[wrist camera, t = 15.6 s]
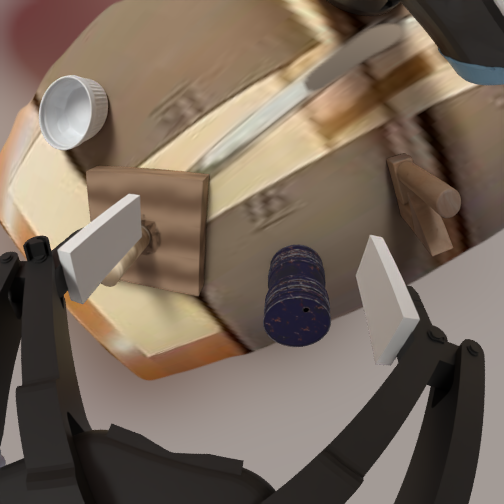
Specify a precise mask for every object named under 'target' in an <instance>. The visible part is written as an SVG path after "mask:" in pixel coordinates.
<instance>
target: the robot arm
mask: <svg viewBox="0 0 504 504" xmlns="http://www.w3.org/2000/svg"><path fill="white" fill-rule="evenodd" d="M327 1H328V2H329V3H331V4H332V5H334V6H336V7H338V8H340V9H342V10H344V11H347V12H350V13H353V14H357V15H364V16H375V15H381V14H384V13H387V12H389V11H391V10H392V9H393V8H395V7H396V6H397V5H398V4H399V3H400V2H401V3H402V4H403V5H404V6H405V8H406V9H407V10H408V11H409V12H410V13H411V14H412V15H413V16H414V18H415V19H416V20H417V21H418V22H419V24H420V25H421V26H422V27H423V28H424V30H425V31H426V32H427V33H428V35H429V36H430V37H431V38H432V40H433V41H434V42H435V44H436V45H437V46H438V50H439V52H440V53H441V55H442V56H444V58H446V59H447V60H448V62H449V63H450V64H451V66H452V67H453V69H454V70H455V71H456V73H457V74H458V75H459V76H461V77H462V78H463V79H465V80H466V81H468V82H471V83H474V84H479V85H501V84H504V0H327ZM141 237H142V230H141V210H140V195H135V194H128V195H126V196H125V197H124V198H122V199H121V200H120V201H118V202H117V203H115V204H114V205H113V206H111V207H110V208H109V209H107V210H106V211H105V212H103V213H102V214H101V215H100V216H98V217H97V218H96V219H94V220H93V221H92V222H91V223H89V224H88V225H87V226H85V227H83V228H81V229H79V230H77V231H75V232H74V233H73V234H71V235H70V236H69V237H68V238H66V239H65V240H64V241H63V242H62V243H60V244H59V245H58V246H57V247H56V248H55V249H53V250H52V251H51V248H50V244H49V239H48V237H46V236H36V237H33V238H31V239H29V240H27V241H26V242H25V244H24V245H23V247H24V251H25V254H26V258H27V261H20V260H19V257H18V254H17V253H16V252H6V253H4V254H2V256H0V445H1V441H2V436H3V431H4V425H5V417H6V409H7V402H8V395H9V390H10V384H11V379H12V374H13V369H14V364H15V360H16V356H17V352H18V348H19V344H20V340H21V363H22V386H18V387H17V388H16V404H17V415H18V423H19V430H20V437H21V442H22V449H23V454H24V458H23V459H21V460H18V461H16V462H13V463H11V464H8V465H6V466H5V459H4V457H3V456H2V455H1V450H0V504H345V502H346V501H347V500H348V499H349V498H350V497H351V496H352V495H353V494H354V493H355V492H356V490H357V489H358V488H359V487H360V485H361V484H362V482H363V481H364V480H363V477H364V476H365V474H366V473H367V472H368V471H369V469H370V468H371V467H372V466H373V464H374V463H375V462H376V460H377V459H378V458H379V457H380V455H381V454H382V453H383V451H384V450H385V449H386V447H387V446H388V445H389V443H390V442H391V440H392V439H393V438H394V436H395V435H396V433H397V432H398V430H399V429H400V427H401V426H402V424H403V423H404V421H405V420H406V418H407V417H408V415H409V413H410V412H411V410H412V408H413V407H414V405H415V404H416V402H417V400H418V399H419V397H420V395H421V394H422V392H423V390H424V388H425V387H426V385H429V386H431V388H430V393H429V397H428V402H427V406H426V410H425V415H424V419H423V422H422V426H421V430H420V433H419V437H418V440H417V443H416V446H415V450H414V453H413V456H412V459H411V462H410V465H409V467H408V470H407V473H406V476H405V478H404V481H403V483H402V486H401V488H400V491H399V493H398V495H397V498H396V500H395V503H394V504H468V503H469V500H470V496H471V492H472V487H473V483H474V478H475V474H476V468H477V463H478V457H479V450H480V443H481V435H482V426H483V413H484V395H485V360H484V352H483V349H482V348H481V346H480V345H479V344H478V343H477V342H475V341H473V340H470V339H465V340H464V341H463V342H462V343H461V345H460V346H457V345H455V344H452V343H449V342H447V341H448V340H447V337H446V335H445V334H444V332H443V331H441V330H440V329H439V328H438V327H436V326H433V325H432V324H431V322H430V319H429V317H428V315H427V312H426V310H425V308H424V306H423V303H422V302H421V299H420V297H419V295H418V293H417V292H416V291H415V290H414V289H413V287H411V286H406V285H405V283H404V281H403V279H402V276H401V274H400V272H399V270H398V268H397V266H396V264H395V262H394V259H393V257H392V255H391V253H390V251H389V249H388V247H387V245H386V243H385V241H384V239H383V238H382V237H378V236H373V235H370V237H369V240H368V243H367V246H366V249H365V251H364V254H363V257H362V260H361V263H360V265H359V268H358V271H357V274H356V279H357V283H358V287H359V291H360V295H361V299H362V303H363V307H364V312H365V316H366V320H367V325H368V329H369V334H370V339H371V344H372V349H373V354H374V360H375V364H379V365H391V364H392V363H393V361H394V360H395V358H396V357H397V359H398V364H397V366H396V367H395V369H394V370H393V371H392V373H391V374H390V375H389V377H388V378H387V379H386V380H385V382H384V383H383V384H382V386H381V387H380V388H379V389H378V391H377V392H376V393H375V394H374V396H373V397H372V398H371V399H370V400H369V402H368V403H367V404H366V405H365V406H364V408H363V409H362V410H361V411H360V412H359V413H358V414H357V415H356V417H355V418H354V419H353V420H352V421H351V422H350V423H349V424H348V425H347V426H346V427H345V429H344V430H343V431H342V432H341V433H340V434H339V435H338V436H337V437H336V438H335V439H334V440H333V441H332V442H331V443H330V444H329V445H328V446H327V447H326V448H325V449H324V450H323V451H322V452H321V453H319V454H318V455H317V456H316V457H315V458H314V459H313V460H312V461H311V462H310V463H309V464H308V465H307V466H305V467H304V468H303V469H302V470H301V471H300V472H299V473H298V474H297V475H295V476H294V477H293V478H292V479H291V480H289V481H288V482H287V483H286V484H285V485H283V486H282V487H281V488H280V489H278V490H277V491H275V489H274V488H273V487H272V486H271V485H270V484H269V483H268V482H267V481H265V480H264V479H263V478H262V477H260V476H259V475H257V474H255V473H254V472H252V471H250V470H247V469H245V468H243V467H242V466H243V461H242V460H236V459H231V458H226V457H221V456H216V455H211V454H185V453H172V452H169V451H167V450H166V449H164V448H162V447H161V446H159V445H157V444H155V443H154V442H152V441H150V440H149V439H147V438H146V437H144V436H142V435H141V434H138V433H135V432H132V431H130V430H127V429H124V428H122V427H119V426H117V425H114V424H111V426H110V429H109V430H92V429H91V427H90V425H89V423H88V420H87V418H86V414H85V411H84V407H83V403H82V399H81V395H80V391H79V386H78V382H77V377H76V372H75V367H74V361H73V356H72V350H71V344H70V337H69V330H68V322H67V312H66V302H65V298H64V294H65V293H66V292H67V291H68V292H69V295H70V299H71V300H72V301H75V302H78V303H81V304H84V302H85V301H86V300H87V299H88V298H89V296H90V295H91V294H92V293H93V292H94V290H95V289H96V288H97V287H98V286H99V284H100V283H101V282H102V281H103V280H104V279H105V277H106V276H107V275H108V274H109V273H110V272H111V270H112V269H113V268H114V267H115V266H116V265H117V264H118V263H119V261H120V260H121V259H122V258H123V257H124V256H125V255H126V254H127V253H128V251H129V250H130V249H131V248H132V247H133V246H134V245H135V244H136V243H137V242H138V241H139V239H140V238H141ZM8 297H9V298H8Z"/></svg>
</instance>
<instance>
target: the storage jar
mask: <svg viewBox="0 0 504 504" xmlns="http://www.w3.org/2000/svg"><path fill="white" fill-rule="evenodd" d="M268 288H269V290H268V293H267V295H266V299H265V307H264V320H263V326H264V329H265V331H266V333H267V334H268V336H269V337H270V338H271V339H273V340H274V341H275V342H277V343H279V344H282V345H286V346H290V347H303V346H307V345H311V344H313V343H315V342H317V341H319V340H321V339H322V338H323V337H324V336H325V335H326V334H327V332H328V331H329V328H330V325H331V316H330V304H329V297H328V294H327V291H326V289H325V272H324V268H323V264H322V260H321V258H320V256H319V255H318V254H317V253H316V252H315V251H314V250H313V249H311V248H309V247H307V246H304V245H290V246H286V247H284V248H282V249H281V250H279V251H278V252H277V253H276V254H275V255H274V257H273V258H272V261H271V264H270V270H269V275H268Z"/></svg>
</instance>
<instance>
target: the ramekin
mask: <svg viewBox="0 0 504 504" xmlns="http://www.w3.org/2000/svg"><path fill="white" fill-rule="evenodd" d="M107 112H108V100H107V96H106V93H105V91H104V89H103V88H102V87H101V85H100V84H99V83H97V82H96V81H93V80H91V79H86V78H81V77H79V76H75V75H69V76H64V77H61V78H59V79H57V80H56V81H54V82H53V83H52V84H51V85H50V86H49V88H48V89H47V90H46V92H45V94H44V96H43V98H42V101H41V104H40V110H39V123H40V128H41V132H42V134H43V136H44V138H45V140H46V141H47V142H48V143H49V144H50V145H51V146H52V147H54V148H56V149H59V150H68V149H72V148H75V147H77V146H79V145H80V144H81V143H83V142H84V141H86V140H88V139H90V138H92V137H93V136H95V135H96V134H97V133H98V132H99V130H100V129H101V128H102V126H103V124H104V123H105V120H106V117H107Z"/></svg>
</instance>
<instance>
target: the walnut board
mask: <svg viewBox="0 0 504 504" xmlns="http://www.w3.org/2000/svg"><path fill="white" fill-rule="evenodd" d="M86 177H87V191H88V202H89V211H90V220H91V222H92V221H93V220H94V219H96V218H97V217H98V216H100V215H101V214H102V213H103V212H105V211H106V210H107V209H109V208H110V207H111V206H113V205H114V204H115V203H117V202H118V201H120V200H121V199H122V198H124V197H125V196H126V195H128V194H135V195H140V210H141V224H143V225H145V226H146V227H147V228H148V229H149V230H150V232H151V236H152V239H151V243H150V244H149V246H148V247H147V248H145V249H144V251H143V252H142V253H141V254H140V255H139V257H138V258H137V259H136V260H135V261H134V263H133V264H132V265H131V266H130V267H129V269H128V270H127V271H126V272H125V274H124V275H123V276H122V277H121V278H120V280H123V281H127V282H132V283H136V284H141V285H145V286H150V287H155V288H160V289H164V290H169V291H174V292H179V293H184V294H189V295H195V296H199V294H200V292H201V289H202V287H203V285H204V262H205V238H206V219H207V202H208V186H209V174H202V173H192V172H183V171H172V170H161V169H148V168H135V167H118V166H96V167H94V168H92V169H90V170H88V171H86Z"/></svg>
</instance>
